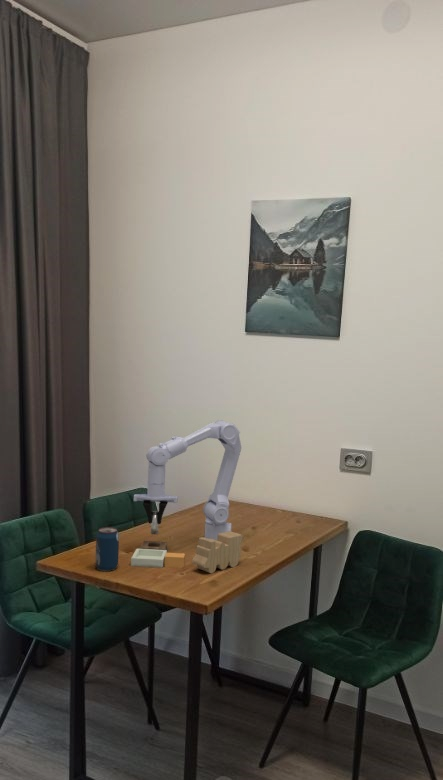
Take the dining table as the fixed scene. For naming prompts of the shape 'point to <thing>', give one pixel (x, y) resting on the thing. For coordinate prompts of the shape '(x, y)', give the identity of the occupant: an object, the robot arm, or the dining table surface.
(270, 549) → the dining table surface
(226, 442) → the robot arm
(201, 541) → the toy train
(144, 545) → the socket block
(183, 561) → the block
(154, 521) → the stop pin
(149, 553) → the tray
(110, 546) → the soda can
